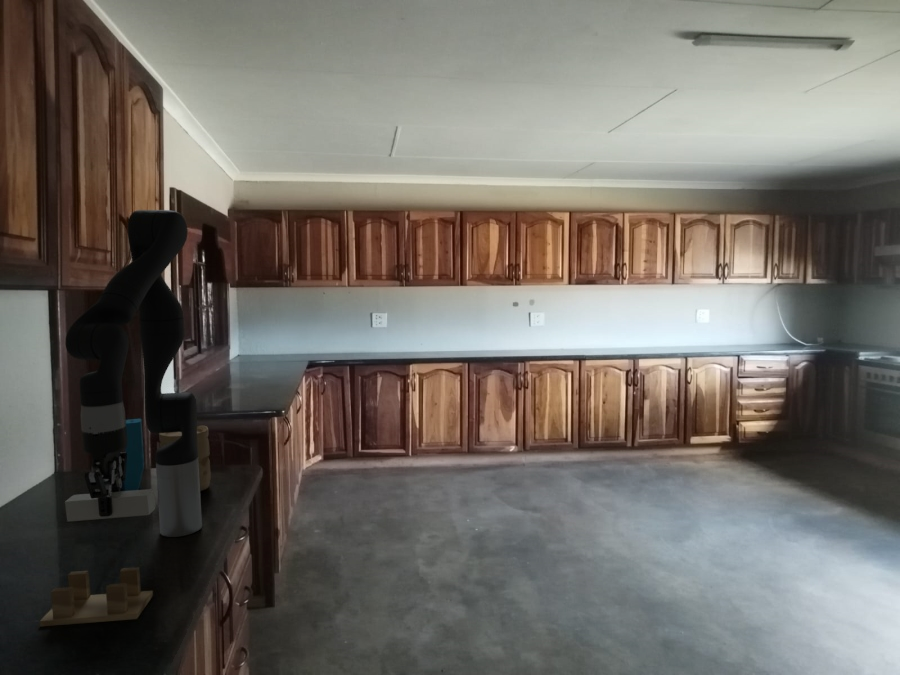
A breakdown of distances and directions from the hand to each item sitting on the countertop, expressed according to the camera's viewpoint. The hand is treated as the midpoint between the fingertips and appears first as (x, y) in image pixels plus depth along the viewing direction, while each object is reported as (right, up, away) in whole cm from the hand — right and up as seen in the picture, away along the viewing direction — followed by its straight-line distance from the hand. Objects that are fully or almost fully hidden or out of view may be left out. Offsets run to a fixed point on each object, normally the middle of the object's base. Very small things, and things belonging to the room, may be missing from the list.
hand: (110, 511), depth 119 cm
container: (-7, -10, +52) cm, 53 cm away
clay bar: (0, -1, 0) cm, 1 cm away
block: (-27, -10, +53) cm, 60 cm away
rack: (+3, -16, -8) cm, 18 cm away
